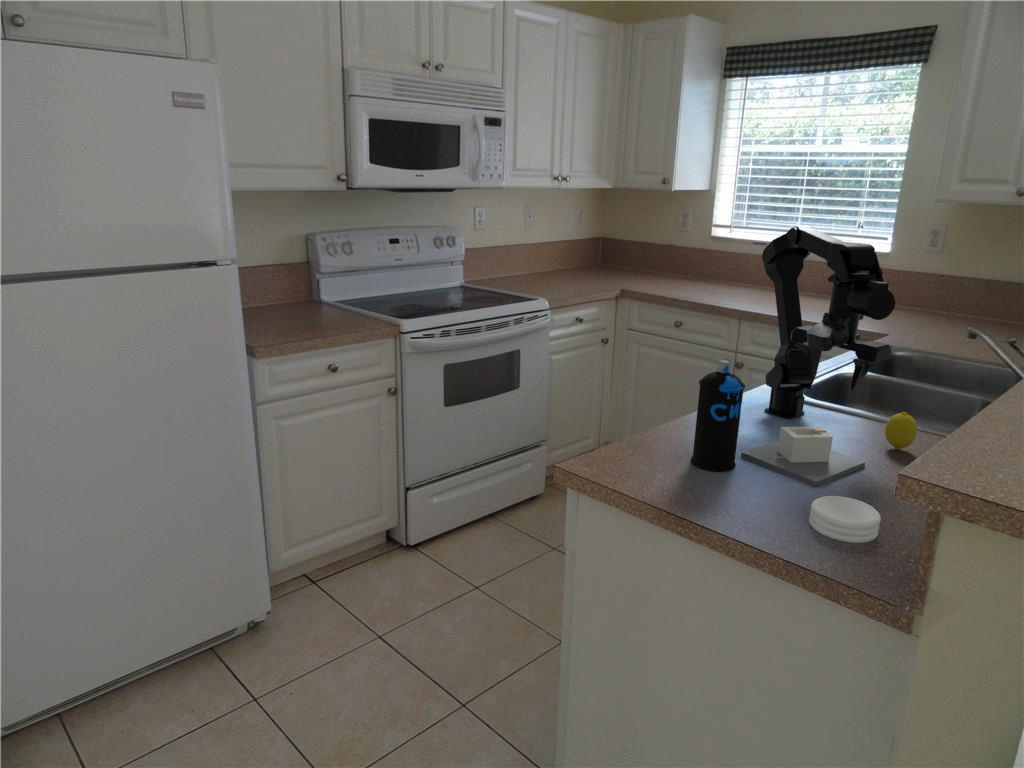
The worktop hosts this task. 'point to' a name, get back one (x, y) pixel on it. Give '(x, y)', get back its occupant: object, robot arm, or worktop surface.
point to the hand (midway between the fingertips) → (832, 383)
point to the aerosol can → (718, 420)
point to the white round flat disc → (844, 519)
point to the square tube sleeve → (805, 444)
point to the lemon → (901, 430)
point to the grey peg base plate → (803, 464)
